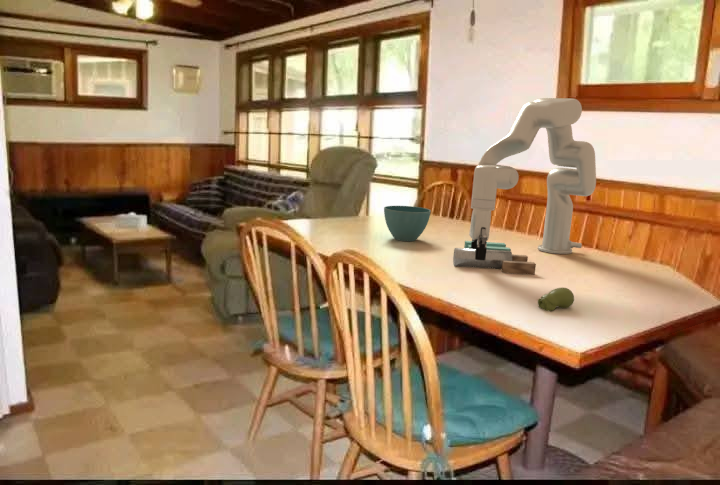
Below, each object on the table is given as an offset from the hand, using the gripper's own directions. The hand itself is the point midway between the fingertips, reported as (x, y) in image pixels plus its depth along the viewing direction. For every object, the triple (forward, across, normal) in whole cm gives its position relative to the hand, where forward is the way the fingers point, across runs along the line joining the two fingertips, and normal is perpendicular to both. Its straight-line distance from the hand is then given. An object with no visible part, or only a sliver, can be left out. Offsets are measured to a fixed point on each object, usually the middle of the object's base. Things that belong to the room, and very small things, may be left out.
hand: (477, 256), depth 191 cm
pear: (+4, +41, +14) cm, 44 cm away
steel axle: (+1, -1, +2) cm, 2 cm away
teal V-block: (+3, -13, +5) cm, 15 cm away
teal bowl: (+3, -41, -22) cm, 47 cm away
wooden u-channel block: (+3, 0, +12) cm, 13 cm away
